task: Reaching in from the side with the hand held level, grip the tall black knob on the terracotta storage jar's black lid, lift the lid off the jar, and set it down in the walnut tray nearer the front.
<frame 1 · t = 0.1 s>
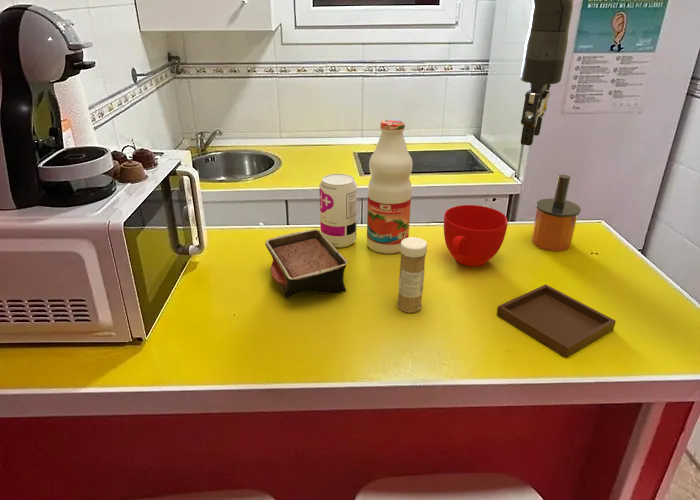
hand: (530, 139, 106), 25 cm above the counter, tool pointing down, fingers open, 8 cm apart
supplement can: (338, 241, 120), on the counter
fruit juice: (387, 245, 118), on the counter
baking dish: (308, 282, 103), on the counter
sprinkles bottle: (409, 307, 96), on the counter
jar lid: (557, 208, 115), point 8 cm above the counter, touching storage jar
ceramic cup: (466, 263, 111), on the counter
storage jar: (550, 242, 119), on the counter
tray: (553, 322, 92), on the counter
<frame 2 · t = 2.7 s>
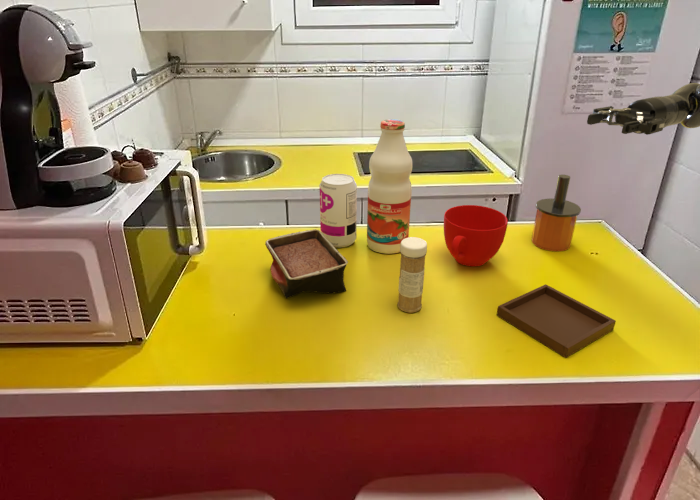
hand: (606, 124, 112), 26 cm above the counter, tool horizontal, fingers open, 8 cm apart
nothing on the counter moved.
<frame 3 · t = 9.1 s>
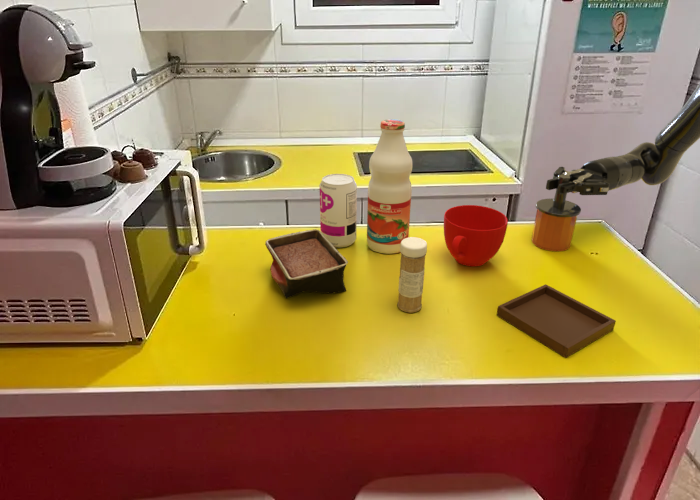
hand: (553, 187, 111), 14 cm above the counter, tool horizontal, fingers closed on jar lid, 2 cm apart
jar lid: (557, 208, 115), point 9 cm above the counter, touching gripper, storage jar
everything else where it was.
when the fingers open (7 cm above the counter, at t = 22.0 s): jar lid stays where it is, resting on tray.
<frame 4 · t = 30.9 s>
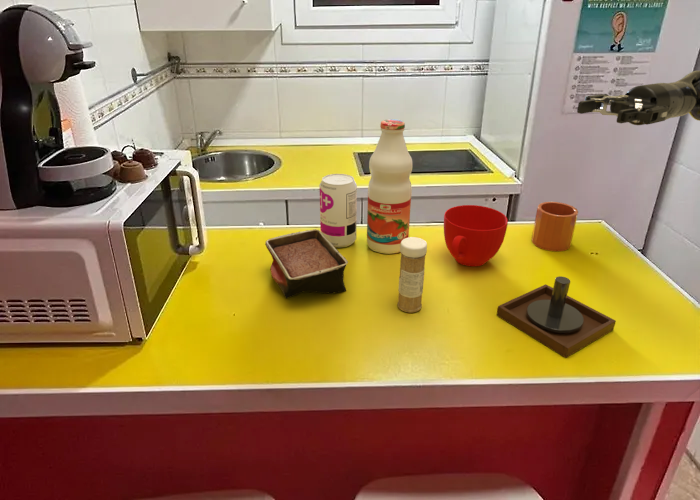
hand: (598, 112, 96), 32 cm above the counter, tool horizontal, fingers open, 8 cm apart
jar lid: (554, 316, 91), point 1 cm above the counter, touching tray
everything else where it was.
at the end: jar lid inside the target area in the tray (0.1 cm from its centre), point 1.1 cm above the tray's base; jar lid tilted 0°; the gripper is holding nothing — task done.
